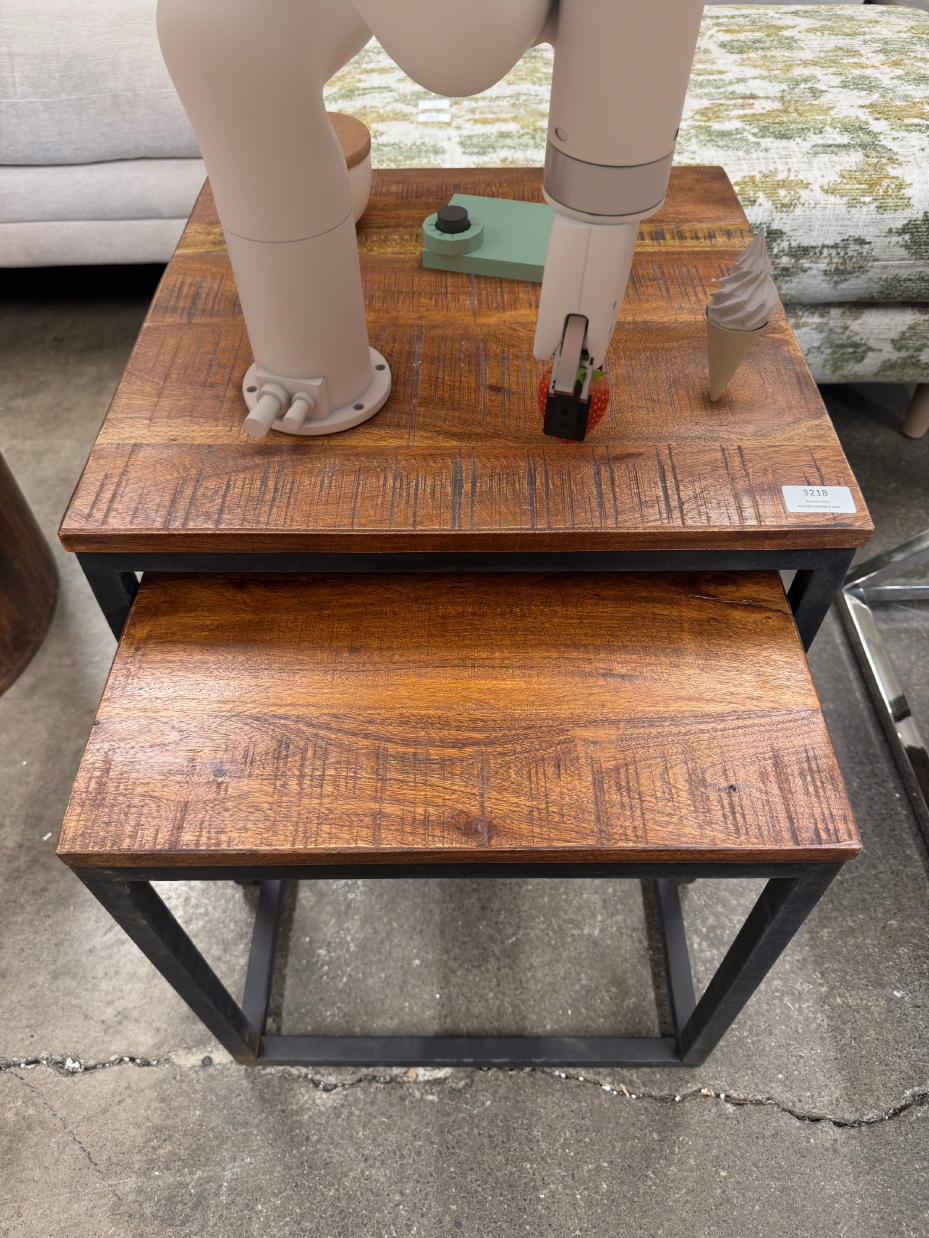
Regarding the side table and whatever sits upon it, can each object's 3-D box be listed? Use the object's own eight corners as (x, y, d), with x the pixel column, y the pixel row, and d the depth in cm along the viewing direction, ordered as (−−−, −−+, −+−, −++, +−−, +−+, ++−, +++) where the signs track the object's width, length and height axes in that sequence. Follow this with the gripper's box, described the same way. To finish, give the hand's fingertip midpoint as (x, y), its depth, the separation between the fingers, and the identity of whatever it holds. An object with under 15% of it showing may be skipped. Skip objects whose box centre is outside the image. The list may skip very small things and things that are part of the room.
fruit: (532, 458, 66) (541, 372, 59) (534, 415, 69) (542, 329, 63) (601, 462, 66) (618, 377, 59) (600, 419, 69) (615, 333, 62)
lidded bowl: (271, 199, 94) (250, 88, 85) (384, 199, 93) (374, 89, 85) (249, 258, 86) (223, 144, 77) (372, 259, 86) (360, 144, 77)
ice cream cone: (734, 425, 69) (787, 250, 57) (675, 407, 71) (715, 232, 59) (752, 391, 72) (807, 217, 60) (695, 374, 73) (737, 201, 62)
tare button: (463, 237, 82) (463, 222, 81) (434, 234, 83) (433, 218, 81) (471, 222, 84) (471, 207, 83) (442, 219, 84) (441, 203, 83)
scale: (559, 288, 82) (562, 254, 79) (417, 269, 84) (415, 235, 82) (582, 226, 89) (585, 192, 87) (450, 210, 92) (450, 177, 89)
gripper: (571, 104, 56) (546, 340, 71) (513, 231, 46) (497, 476, 61) (684, 119, 55) (635, 356, 70) (649, 252, 45) (600, 496, 60)
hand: (571, 409), depth 65 cm, fingers closed on fruit, 5 cm apart
